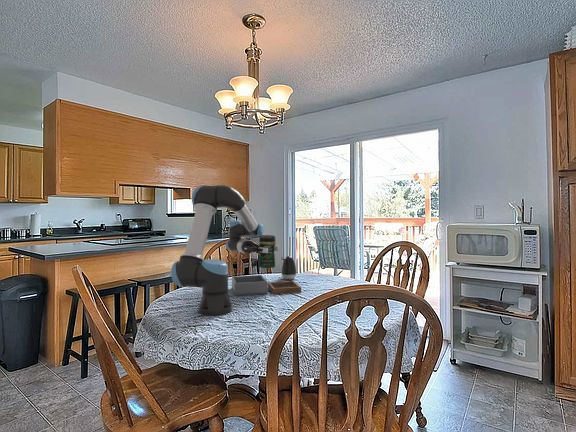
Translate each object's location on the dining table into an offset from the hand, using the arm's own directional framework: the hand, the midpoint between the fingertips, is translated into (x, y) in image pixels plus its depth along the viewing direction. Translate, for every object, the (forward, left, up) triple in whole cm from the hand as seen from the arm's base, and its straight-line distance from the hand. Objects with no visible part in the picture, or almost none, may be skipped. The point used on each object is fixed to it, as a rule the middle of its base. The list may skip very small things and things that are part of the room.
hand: (273, 249), depth 192 cm
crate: (+4, +13, -24) cm, 28 cm away
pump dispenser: (+30, -17, -24) cm, 42 cm away
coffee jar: (+4, +3, -11) cm, 12 cm away
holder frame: (+2, -7, -24) cm, 25 cm away
